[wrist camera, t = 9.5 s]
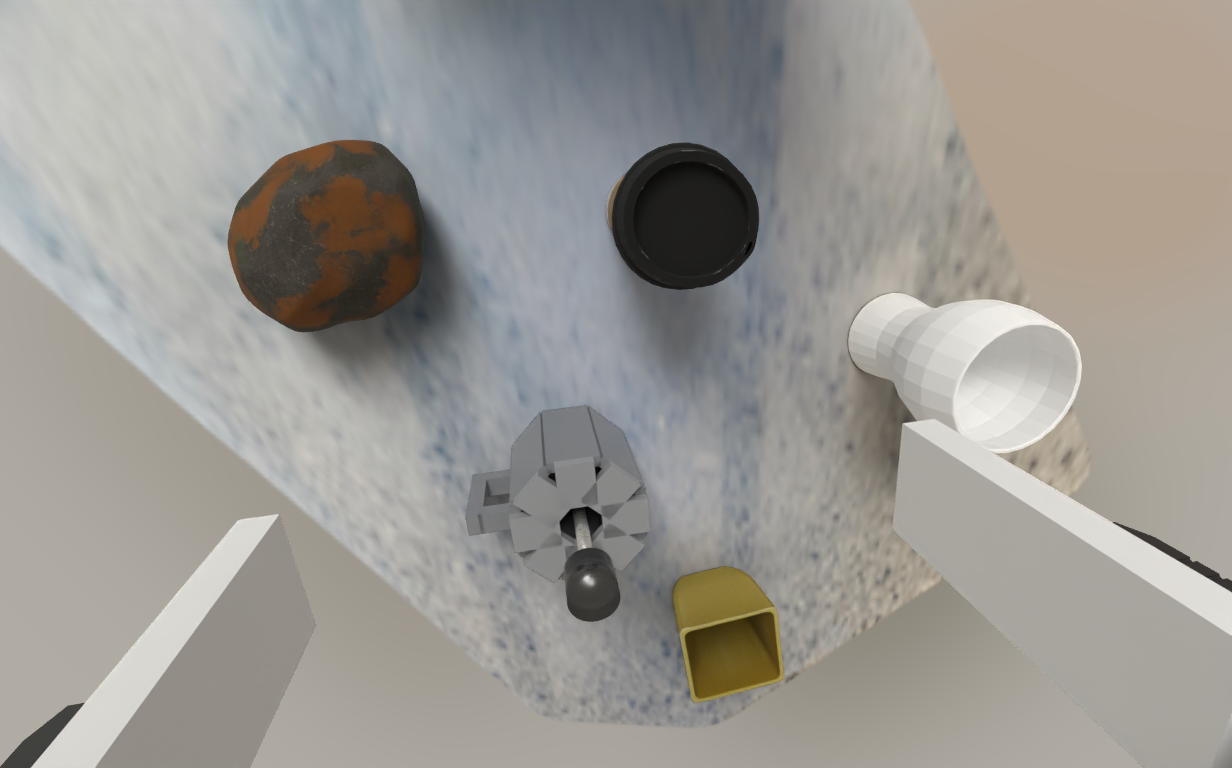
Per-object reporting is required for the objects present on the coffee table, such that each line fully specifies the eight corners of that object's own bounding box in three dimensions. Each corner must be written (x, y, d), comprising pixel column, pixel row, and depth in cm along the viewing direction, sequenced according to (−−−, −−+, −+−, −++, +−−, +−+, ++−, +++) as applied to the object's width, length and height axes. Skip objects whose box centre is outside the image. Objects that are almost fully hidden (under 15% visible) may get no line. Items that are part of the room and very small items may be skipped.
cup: (813, 322, 51) (921, 375, 37) (915, 252, 51) (1064, 279, 37) (861, 410, 55) (976, 488, 41) (957, 346, 54) (1107, 404, 40)
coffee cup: (665, 279, 48) (723, 319, 34) (572, 236, 46) (593, 261, 32) (711, 181, 46) (792, 182, 32) (615, 132, 44) (658, 109, 30)
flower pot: (669, 633, 61) (692, 706, 52) (656, 566, 58) (678, 632, 49) (749, 612, 61) (785, 681, 53) (741, 544, 58) (777, 606, 50)
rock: (339, 345, 46) (293, 387, 37) (228, 232, 42) (144, 247, 33) (474, 239, 45) (461, 254, 36) (372, 114, 41) (327, 94, 32)
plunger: (530, 442, 49) (533, 564, 33) (605, 432, 50) (642, 546, 34) (539, 508, 51) (547, 650, 35) (611, 497, 52) (649, 632, 36)
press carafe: (466, 420, 50) (452, 481, 40) (621, 400, 51) (645, 454, 41) (485, 521, 53) (476, 601, 43) (629, 499, 55) (653, 571, 45)
